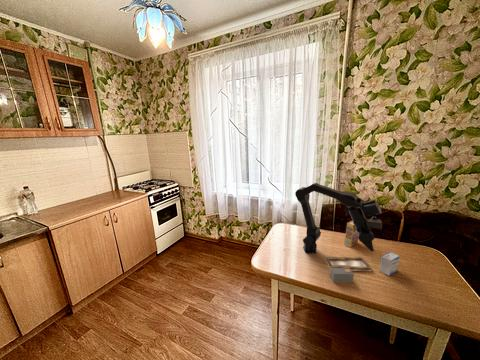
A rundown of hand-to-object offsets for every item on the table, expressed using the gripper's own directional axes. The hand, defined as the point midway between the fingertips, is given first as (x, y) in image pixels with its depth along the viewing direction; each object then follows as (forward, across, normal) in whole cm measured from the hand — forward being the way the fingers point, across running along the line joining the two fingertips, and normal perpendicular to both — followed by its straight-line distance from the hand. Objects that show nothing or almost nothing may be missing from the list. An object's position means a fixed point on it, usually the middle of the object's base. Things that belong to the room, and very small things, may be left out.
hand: (371, 247), depth 97 cm
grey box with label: (+9, -10, +18) cm, 22 cm away
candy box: (+7, +27, +11) cm, 30 cm away
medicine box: (+16, +7, -2) cm, 18 cm away
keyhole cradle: (+8, +3, +14) cm, 17 cm away
